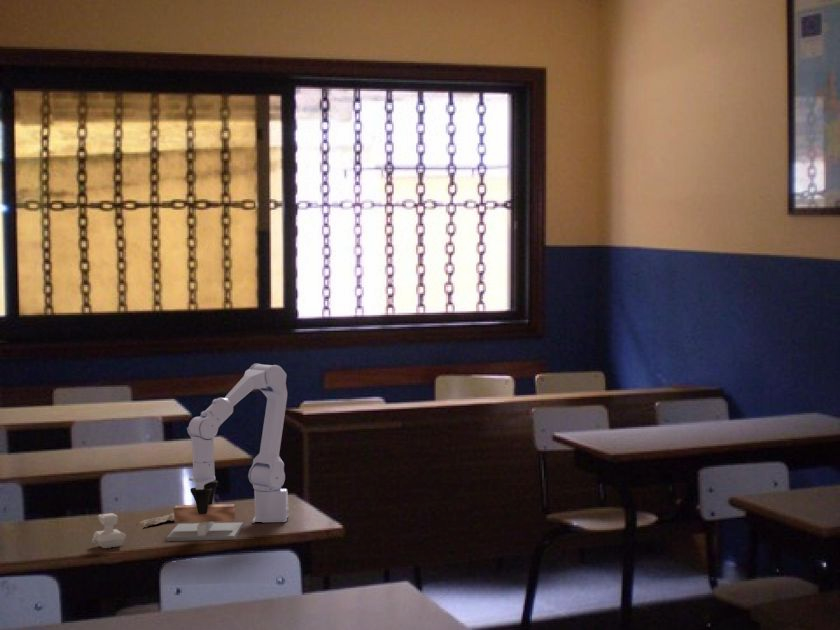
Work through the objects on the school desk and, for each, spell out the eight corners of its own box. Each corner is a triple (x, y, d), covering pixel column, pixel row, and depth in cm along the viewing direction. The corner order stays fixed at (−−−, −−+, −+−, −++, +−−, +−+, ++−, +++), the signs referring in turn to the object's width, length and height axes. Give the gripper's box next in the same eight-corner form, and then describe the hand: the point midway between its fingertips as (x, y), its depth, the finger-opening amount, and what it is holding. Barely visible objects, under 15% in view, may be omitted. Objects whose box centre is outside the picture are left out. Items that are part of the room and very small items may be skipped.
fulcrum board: (243, 525, 355) (242, 513, 354) (234, 539, 339) (234, 526, 338) (178, 527, 355) (178, 514, 354) (166, 540, 339) (166, 527, 339)
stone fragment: (214, 517, 371) (190, 513, 377) (214, 507, 371) (190, 504, 377) (149, 533, 351) (124, 529, 357) (149, 523, 351) (124, 519, 357)
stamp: (95, 551, 329) (94, 519, 328) (88, 546, 335) (87, 514, 334) (130, 546, 333) (128, 514, 333) (122, 542, 339) (121, 510, 338)
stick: (235, 518, 348) (234, 504, 348) (233, 521, 345) (233, 506, 345) (176, 519, 348) (176, 505, 348) (174, 522, 345) (174, 507, 345)
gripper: (193, 457, 353) (195, 505, 354) (183, 466, 338) (185, 517, 339) (219, 456, 353) (220, 505, 353) (210, 465, 338) (211, 516, 339)
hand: (205, 511), depth 346 cm, fingers open, 7 cm apart
